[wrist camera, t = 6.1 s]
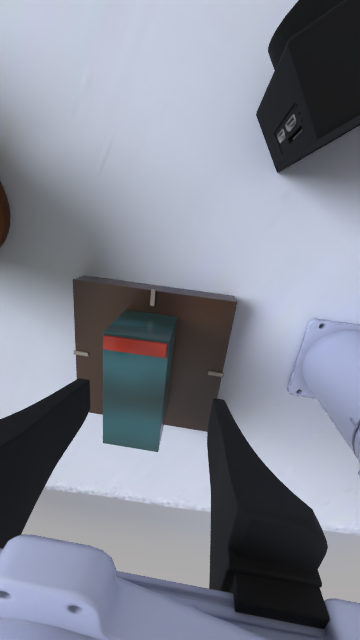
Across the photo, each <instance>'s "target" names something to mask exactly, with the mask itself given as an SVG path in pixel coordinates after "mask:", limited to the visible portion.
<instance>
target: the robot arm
mask: <svg viewBox="0 0 360 640" xmlns="http://www.w3.org/2000/svg"><path fill="white" fill-rule="evenodd" d="M320 324H323V326H322V327H320V328H319V325H320ZM297 390H300V391H297ZM288 392H289V393H290V394H292V395H297V396H304V397H310V398H316V399H317V400H318V402H319V403H320V404H321V406H322V407H323V409H324V410H325V412H326V413H327V415H328V416H329V418H330V419H331V421H332V422H333V423H334V425H335V426H336V428H337V429H338V431H339V432H340V434H341V435H342V437H343V438H344V440H345V441H346V442H347V444H348V445H349V447H350V448H351V450H352V451H353V453H354V454H355V456H356V457H357V458H358V460H359V462H360V325H356V324H349V323H341V322H334V321H327V320H320V319H313V320H311V321H310V323H309V325H308V328H307V331H306V334H305V337H304V340H303V343H302V346H301V349H300V352H299V355H298V358H297V361H296V365H295V368H294V371H293V374H292V377H291V380H290V383H289V386H288ZM89 410H90V380H88V379H82V378H79V379H77V380H75V381H74V382H72V383H70V384H68V385H67V386H65V387H63V388H62V389H60V390H58V391H57V392H55V393H53V394H52V395H50V396H48V397H46V398H44V399H43V400H41V401H39V402H37V403H35V404H33V405H31V406H29V407H27V408H25V409H23V410H21V411H19V412H17V413H14V414H12V415H10V416H7V417H5V418H2V419H0V640H360V603H356V602H351V601H345V600H340V599H327V600H325V601H324V600H323V597H322V594H321V591H320V588H319V587H321V586H322V582H321V579H320V576H319V573H318V568H319V566H320V564H321V562H322V560H323V558H324V557H325V554H326V552H327V548H328V547H327V541H326V538H325V536H324V533H323V531H322V528H321V526H320V524H319V522H318V520H317V518H316V516H315V514H314V512H313V510H312V509H311V508H310V507H309V506H308V505H306V504H305V503H304V502H303V501H302V500H301V499H299V498H298V497H297V496H296V495H295V494H294V493H292V492H291V491H290V490H289V489H288V488H287V487H286V486H285V485H284V484H283V483H282V482H281V481H280V480H279V479H278V478H277V477H276V476H275V475H274V474H273V473H272V472H271V471H270V470H269V468H268V467H267V466H266V465H265V464H264V463H263V462H262V460H261V459H260V458H259V457H258V455H257V454H256V453H255V452H254V450H253V449H252V447H251V446H250V445H249V443H248V442H247V440H246V439H245V437H244V436H243V434H242V432H241V431H240V429H239V427H238V426H237V424H236V422H235V420H234V419H233V417H232V415H231V413H230V411H229V409H228V407H227V404H226V402H225V401H224V400H221V399H214V398H213V402H212V407H211V412H210V418H209V423H208V436H207V447H208V460H209V472H210V484H211V546H210V585H209V586H210V587H209V589H207V588H201V587H197V586H192V585H187V584H182V583H176V582H171V581H166V580H161V579H155V578H150V577H145V576H140V575H135V574H130V573H124V572H120V571H116V568H115V565H114V562H113V560H112V558H111V557H110V556H109V555H108V554H107V553H105V552H104V551H103V550H101V549H98V548H95V547H92V546H89V545H83V544H78V543H73V542H67V541H62V540H57V539H52V538H46V537H41V536H36V535H21V533H22V531H23V529H24V527H25V525H26V523H27V520H28V518H29V516H30V514H31V512H32V510H33V508H34V506H35V504H36V502H37V500H38V498H39V496H40V494H41V492H42V490H43V488H44V486H45V484H46V483H47V481H48V479H49V477H50V475H51V473H52V471H53V470H54V468H55V466H56V464H57V463H58V461H59V460H60V458H61V457H62V455H63V454H64V452H65V450H66V449H67V447H68V446H69V444H70V443H71V441H72V440H73V438H74V437H75V435H76V434H77V432H78V431H79V429H80V428H81V426H82V424H83V423H84V421H85V419H86V417H87V414H88V412H89ZM358 475H359V476H360V469H359V472H358Z"/></svg>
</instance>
